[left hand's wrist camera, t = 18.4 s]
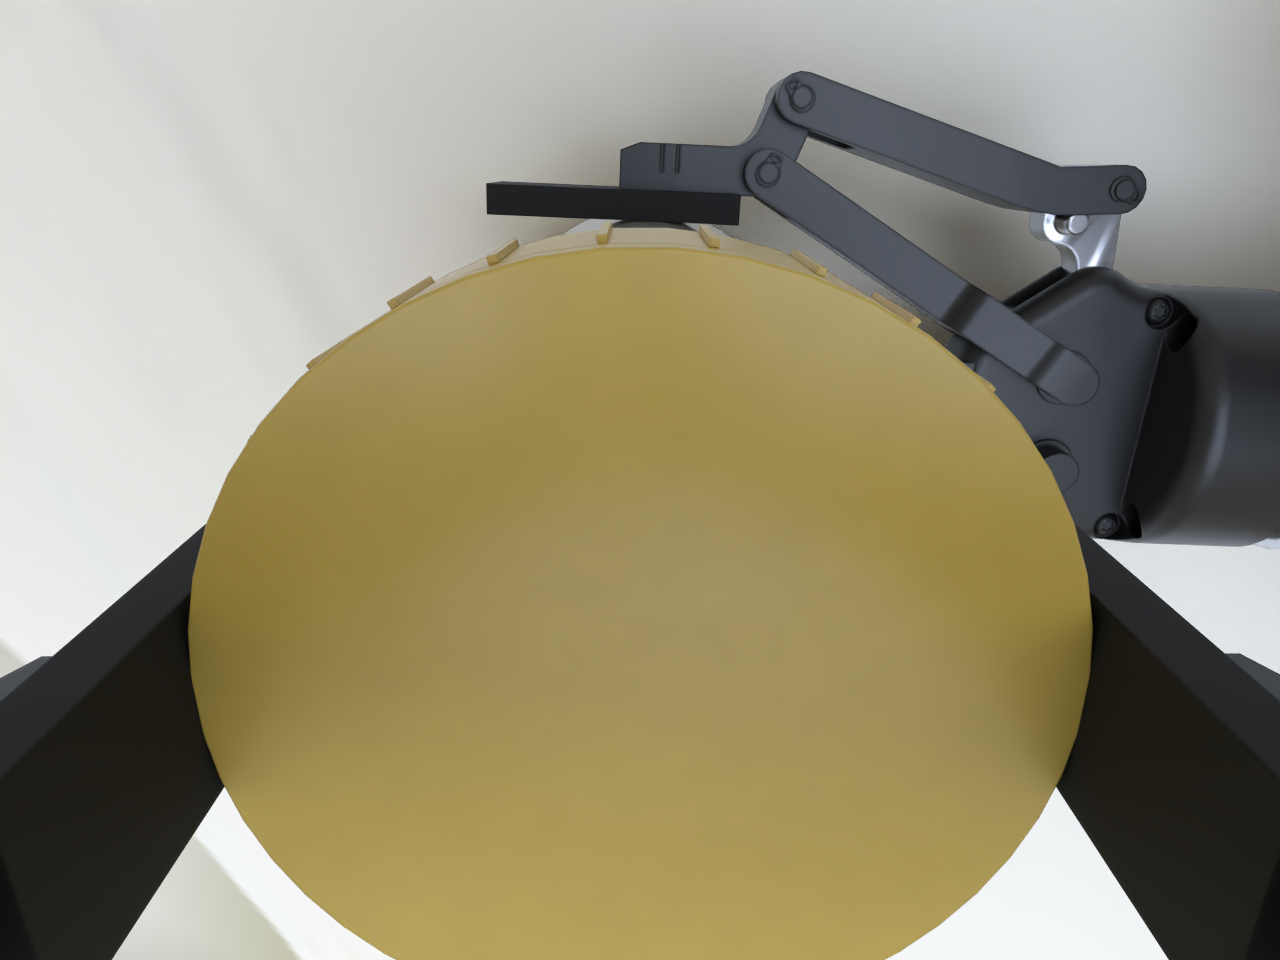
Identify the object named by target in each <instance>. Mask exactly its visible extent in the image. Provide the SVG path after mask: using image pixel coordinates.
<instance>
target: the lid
mask: <svg viewBox="0 0 1280 960" xmlns="http://www.w3.org/2000/svg"><path fill="white" fill-rule="evenodd" d="M387 303H388V305H389V306H390V308H391V310H390V311H388V312H387V313H385V314H384V315H382V316H380V317H379V318H377V319H376V320H374V321H373V322H371V323H370V324H368V325H366V326H365V327H363V328H362V329H360V330H358V331H356V332H355V333H353V334H352V335H350V336H348V337H347V338H345V339H344V340H342V341H341V342H339V343H338V344H336V345H334V346H333V347H331V348H330V349H328V350H327V351H325V352H324V353H322V354H320V355H319V356H317V357H316V358H314V359H313V360H311V361H310V362H309V363H308V364H307V365H306V367H307V368H308V369H310V370H309V371H308V372H306V373H305V374H304V375H303V376H302V377H300V378H299V379H298V380H297V382H296V383H295V384H294V385H293V386H292V387H291V388H290V390H289V391H288V392H287V393H286V394H285V395H284V396H283V398H282V399H281V400H280V401H279V402H278V403H277V404H276V406H275V407H274V408H273V409H272V410H271V411H270V412H269V414H268V415H267V416H266V417H265V418H264V419H263V420H262V422H261V423H260V424H259V425H258V427H257V428H256V430H255V432H254V433H253V435H251V436H250V438H249V440H248V441H247V444H246V446H245V447H244V449H243V451H242V452H241V454H240V455H239V457H238V459H237V460H236V462H235V463H234V465H233V466H232V468H231V470H230V471H229V473H228V475H227V477H226V479H225V482H224V484H223V486H222V489H221V491H220V493H219V496H218V498H217V500H216V503H215V505H214V507H213V510H212V512H211V514H210V517H209V519H208V521H207V524H206V526H205V530H204V534H203V538H202V542H201V546H200V550H199V554H198V558H197V562H196V566H195V570H194V574H193V578H192V589H191V601H190V612H189V623H188V642H189V657H190V672H191V678H192V683H193V688H194V692H195V697H196V702H197V706H198V711H199V715H200V720H201V724H202V729H203V733H204V737H205V740H206V743H207V745H208V748H209V751H210V753H211V756H212V758H213V761H214V764H215V766H216V769H217V772H218V774H219V777H220V779H221V781H222V782H223V784H224V786H225V788H226V790H227V792H228V793H229V795H230V797H231V799H232V801H233V802H234V804H235V806H236V808H237V810H238V812H239V813H240V815H241V817H242V819H243V821H244V822H245V823H246V825H247V826H248V827H249V829H250V830H251V831H252V833H253V834H254V836H255V837H256V838H257V840H258V841H259V842H260V844H261V845H262V846H263V848H264V849H265V851H266V852H267V853H268V855H269V856H270V857H271V859H272V860H273V861H274V862H275V863H276V864H277V865H278V866H279V867H280V868H281V869H282V871H283V872H284V873H285V874H286V875H287V876H288V877H289V878H290V879H291V880H292V881H293V882H294V883H295V884H296V885H297V886H298V887H299V889H300V890H301V891H302V892H303V893H304V894H305V895H306V896H307V897H309V898H310V899H311V900H312V901H313V902H315V903H316V904H317V905H318V906H319V907H321V908H322V909H323V910H324V911H325V912H326V913H328V914H329V915H330V916H331V917H332V918H334V919H335V920H336V921H337V922H338V923H340V924H341V925H342V926H343V927H345V928H346V929H348V930H349V931H351V932H352V933H354V934H355V935H357V936H358V937H360V938H361V939H363V940H364V941H366V942H367V943H369V944H370V945H372V946H373V947H375V948H376V949H378V950H379V951H381V952H382V953H384V954H386V955H388V956H390V957H392V958H394V959H396V960H885V959H887V958H889V957H891V956H893V955H895V954H896V953H898V952H900V951H902V950H903V949H905V948H906V947H907V946H909V945H910V944H912V943H913V942H915V941H916V940H918V939H919V938H921V937H922V936H924V935H925V934H927V933H928V932H930V931H931V930H933V929H934V928H936V927H937V926H939V925H940V924H941V923H942V922H944V921H945V920H946V919H947V918H948V917H950V916H951V915H952V914H953V913H954V912H955V911H957V910H958V909H959V908H960V907H961V906H963V905H964V904H965V903H966V902H967V901H968V900H970V899H971V898H972V897H973V896H974V895H976V894H977V893H978V892H979V891H980V890H981V888H982V887H983V886H984V885H985V884H986V883H987V882H988V881H989V880H990V879H991V878H992V877H993V876H994V874H995V873H996V872H997V871H998V870H999V869H1000V868H1001V867H1002V866H1003V865H1004V864H1005V863H1006V862H1007V861H1008V859H1009V858H1010V857H1011V856H1012V854H1013V853H1014V852H1015V850H1016V849H1017V848H1018V846H1019V845H1020V843H1021V842H1022V841H1023V839H1024V838H1025V837H1026V835H1027V834H1028V832H1029V831H1030V830H1031V828H1032V827H1033V825H1034V824H1035V823H1036V821H1037V820H1038V819H1039V817H1040V815H1041V813H1042V811H1043V809H1044V808H1045V806H1046V804H1047V802H1048V800H1049V798H1050V796H1051V795H1052V793H1053V791H1054V789H1055V787H1056V785H1057V784H1058V782H1059V780H1060V778H1061V776H1062V774H1063V771H1064V769H1065V766H1066V763H1067V761H1068V758H1069V755H1070V752H1071V750H1072V747H1073V744H1074V742H1075V739H1076V736H1077V732H1078V728H1079V723H1080V719H1081V714H1082V709H1083V705H1084V700H1085V696H1086V691H1087V686H1088V682H1089V677H1090V670H1091V653H1092V636H1093V624H1092V614H1091V603H1090V593H1089V583H1088V574H1087V570H1086V566H1085V563H1084V559H1083V555H1082V551H1081V547H1080V543H1079V540H1078V536H1077V532H1076V528H1075V524H1074V521H1073V519H1072V517H1071V514H1070V512H1069V510H1068V508H1067V505H1066V503H1065V501H1064V499H1063V496H1062V494H1061V492H1060V489H1059V487H1058V485H1057V483H1056V480H1055V478H1054V476H1053V473H1052V471H1051V470H1050V468H1049V467H1048V465H1047V463H1046V462H1045V460H1044V459H1043V457H1042V456H1041V454H1040V453H1039V451H1038V449H1037V448H1036V446H1035V445H1034V443H1033V442H1032V440H1031V439H1030V437H1029V435H1028V434H1027V432H1026V431H1025V429H1024V428H1023V426H1022V425H1021V423H1020V422H1019V420H1018V419H1017V418H1016V417H1015V416H1014V415H1013V414H1012V413H1011V411H1010V410H1009V409H1008V408H1007V407H1006V406H1005V405H1004V404H1003V402H1002V401H1001V400H1000V399H999V398H998V397H997V396H996V395H995V393H994V391H995V390H996V388H995V387H994V386H993V385H992V384H991V383H990V382H988V381H987V380H985V379H984V378H982V377H981V376H979V375H978V374H976V373H975V372H974V371H972V370H971V369H970V368H969V367H968V366H966V365H965V364H964V363H963V362H961V361H960V360H959V359H958V358H957V357H955V356H954V355H953V354H952V353H951V352H949V351H948V350H947V349H946V348H945V347H943V346H942V345H941V344H940V343H939V342H937V341H936V340H935V339H934V338H933V337H931V336H930V335H929V334H927V333H926V332H924V331H922V330H921V329H919V328H918V326H919V324H920V323H921V322H922V321H921V320H920V319H919V318H917V317H916V316H914V315H913V314H911V313H909V312H908V311H906V310H905V309H903V308H901V307H900V306H898V305H896V304H895V303H893V302H891V301H890V300H888V299H886V298H885V297H883V296H881V295H880V294H878V293H876V292H874V293H873V295H872V296H871V297H869V296H868V295H866V294H864V293H863V292H861V291H859V290H858V289H856V288H854V287H853V286H851V285H850V284H848V283H846V282H845V281H843V280H841V279H840V278H838V277H836V276H835V275H833V274H832V273H830V272H828V269H827V268H825V267H824V266H822V265H821V264H819V263H817V262H816V261H814V260H813V259H811V258H810V257H808V256H806V255H805V254H803V253H802V252H800V251H798V250H795V249H792V251H791V254H790V255H788V254H786V253H784V252H781V251H779V250H776V249H772V248H768V247H765V246H761V245H757V244H754V243H750V242H747V241H743V240H739V239H736V238H732V237H728V236H725V235H718V234H715V233H714V232H713V231H712V230H711V228H710V227H709V226H706V225H700V227H699V232H695V231H688V230H680V229H673V228H612V222H611V221H610V222H603V224H602V226H601V228H600V229H599V230H592V231H585V232H578V233H571V234H564V235H557V236H552V237H548V238H544V239H541V240H537V241H534V242H530V243H527V244H523V245H520V246H519V244H518V241H517V239H514V240H511V241H509V242H507V243H506V244H504V245H503V246H501V247H500V248H499V249H497V250H496V251H494V252H493V253H491V254H490V255H489V256H487V257H485V258H483V259H481V260H478V261H476V262H474V263H472V264H469V265H467V266H465V267H463V268H460V269H458V270H456V271H453V272H451V273H449V274H447V275H446V276H444V277H442V278H441V279H439V280H438V281H436V282H434V280H433V279H432V277H431V276H429V277H428V278H426V279H424V280H423V281H421V282H419V283H418V284H416V285H414V286H413V287H411V288H410V289H408V290H406V291H405V292H403V293H401V294H400V295H398V296H396V297H395V298H393V299H391V300H390V301H388V302H387Z"/></svg>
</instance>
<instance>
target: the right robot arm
mask: <svg viewBox="0 0 1280 960" xmlns="http://www.w3.org/2000/svg"><path fill="white" fill-rule="evenodd" d="M807 137H809V138H811V139H814V140H817V141H820V142H822V143H825V144H828V145H830V146H833V147H836V148H839V149H841V150H844V151H847V152H849V153H852V154H855V155H858V156H860V157H863V158H866V159H868V160H871V161H874V162H876V163H879V164H882V165H885V166H887V167H890V168H893V169H895V170H898V171H901V172H904V173H906V174H909V175H912V176H914V177H917V178H920V179H923V180H925V181H928V182H931V183H933V184H936V185H939V186H941V187H944V188H947V189H950V190H952V191H955V192H958V193H960V194H963V195H966V196H969V197H971V198H974V199H977V200H979V201H982V202H985V203H988V204H991V205H995V206H998V207H1001V208H1007V209H1013V210H1020V211H1028V212H1030V217H1029V227H1030V230H1031V233H1032V234H1033V236H1034V237H1035V238H1037V239H1038V240H1040V241H1044V242H1048V243H1051V244H1053V245H1054V246H1056V247H1057V249H1058V250H1059V251H1060V254H1061V257H1062V266H1060V267H1057V268H1055V269H1054V270H1052V271H1050V272H1049V273H1047V274H1045V275H1044V276H1042V277H1040V278H1039V279H1037V280H1036V281H1034V282H1032V283H1031V284H1029V285H1027V286H1026V287H1024V288H1022V289H1021V290H1019V291H1018V292H1016V293H1014V294H1013V295H1011V296H1009V297H1008V298H1006V299H1004V300H1003V301H1001V302H999V301H998V300H996V299H995V298H993V297H992V296H990V295H989V294H987V293H986V292H984V291H982V290H981V289H979V288H977V287H975V286H973V285H972V284H970V283H969V282H967V281H966V280H964V279H963V278H961V277H960V276H959V275H957V274H956V273H954V272H953V271H951V270H950V269H949V268H947V267H946V266H944V265H943V264H941V263H940V262H939V261H937V260H936V259H934V258H933V257H931V256H930V255H929V254H927V253H926V252H924V251H923V250H921V249H920V248H919V247H917V246H916V245H914V244H913V243H911V242H910V241H909V240H907V239H906V238H904V237H903V236H901V235H900V234H899V233H897V232H896V231H894V230H893V229H891V228H890V227H889V226H887V225H886V224H884V223H883V222H881V221H880V220H879V219H877V218H876V217H874V216H873V215H871V214H870V213H869V212H867V211H866V210H864V209H863V208H861V207H860V206H859V205H857V204H856V203H854V202H853V201H851V200H850V199H849V198H847V197H846V196H844V195H843V194H841V193H840V192H839V191H837V190H836V189H834V188H833V187H831V186H830V185H829V184H827V183H826V182H824V181H823V180H821V179H820V178H819V177H817V176H816V175H814V174H813V173H812V172H810V171H809V170H807V169H806V168H804V167H803V166H802V165H800V164H799V163H797V162H796V160H797V158H798V155H799V153H800V151H801V149H802V147H803V144H804V142H805V140H806V138H807ZM486 188H487V214H494V215H516V216H539V217H562V218H584V219H607V220H629V221H652V222H674V223H697V224H719V225H739V212H740V199H741V196H752V197H754V198H755V199H757V200H758V201H760V202H761V203H763V204H764V205H765V206H767V207H768V208H770V209H771V210H773V211H774V212H776V213H777V214H779V215H780V216H782V217H783V218H784V219H786V220H787V221H789V222H790V223H792V224H793V225H795V226H796V227H798V228H799V229H801V230H802V231H803V232H805V233H806V234H808V235H809V236H811V237H812V238H814V239H815V240H817V241H818V242H820V243H821V244H823V245H824V246H825V247H827V248H828V249H830V250H831V251H833V252H834V253H836V254H837V255H839V256H840V257H842V258H843V259H844V260H846V261H847V262H849V263H850V264H852V265H853V266H855V267H856V268H858V269H859V270H861V271H862V272H863V273H865V274H866V275H868V276H869V277H871V278H872V279H874V280H875V281H877V282H878V283H880V284H881V285H882V286H884V287H885V288H887V289H888V290H890V291H891V292H893V293H894V294H896V295H897V296H899V297H900V298H902V299H903V300H904V301H906V302H907V303H909V304H910V305H912V306H913V307H915V308H916V309H917V310H918V311H920V312H921V313H922V314H924V315H925V316H927V317H928V318H930V319H931V320H933V321H934V322H936V323H937V324H938V325H940V326H941V327H943V328H944V329H946V330H947V331H949V332H950V333H952V334H953V335H952V337H951V338H950V339H949V341H948V343H947V344H946V347H945V348H946V349H947V350H948V351H949V352H951V353H952V354H953V355H954V356H955V357H957V358H958V359H959V360H960V361H961V362H963V363H964V364H965V365H966V366H968V367H969V368H970V369H971V370H972V371H974V372H975V373H976V374H978V375H979V376H981V377H982V378H984V379H985V380H987V381H988V382H990V383H991V384H992V385H993V386H994V387H995V388H996V390H995V391H994V393H995V395H996V396H997V397H998V398H999V399H1000V400H1001V401H1002V402H1003V404H1004V405H1005V406H1006V407H1007V408H1008V409H1009V410H1010V411H1011V413H1012V414H1013V415H1014V416H1015V417H1016V418H1017V419H1018V420H1019V422H1020V423H1021V425H1022V426H1023V428H1024V429H1025V431H1026V432H1027V434H1028V435H1029V437H1030V439H1031V440H1032V442H1033V443H1034V445H1035V446H1036V448H1037V449H1038V451H1039V453H1040V454H1041V456H1042V457H1043V459H1044V460H1045V462H1046V463H1047V465H1048V467H1049V468H1050V470H1051V471H1052V473H1053V476H1054V478H1055V480H1056V483H1057V485H1058V487H1059V489H1060V492H1061V494H1062V496H1063V499H1064V501H1065V503H1066V505H1067V508H1068V510H1069V512H1070V514H1071V517H1072V519H1073V521H1074V524H1075V525H1076V526H1078V527H1079V528H1080V529H1081V530H1082V531H1083V532H1085V533H1086V534H1087V535H1088V536H1089V537H1090V538H1091V539H1092V538H1097V539H1107V540H1114V541H1123V542H1133V543H1156V544H1181V545H1207V546H1246V545H1252V544H1254V545H1258V546H1261V547H1265V548H1268V549H1280V293H1278V292H1275V291H1271V290H1263V289H1245V288H1221V287H1198V286H1175V285H1151V284H1136V283H1133V282H1132V281H1130V280H1128V279H1127V278H1125V277H1124V276H1123V275H1121V274H1120V273H1118V272H1117V271H1115V270H1113V262H1114V256H1115V250H1116V243H1117V237H1118V231H1119V225H1120V218H1121V214H1123V213H1127V212H1129V211H1131V210H1133V209H1134V208H1136V207H1137V206H1138V205H1139V203H1140V202H1141V201H1142V199H1143V198H1144V195H1145V192H1146V178H1145V176H1144V174H1143V172H1142V171H1141V170H1139V169H1138V168H1137V167H1135V166H1129V165H1059V166H1057V165H1055V164H1052V163H1049V162H1047V161H1044V160H1041V159H1039V158H1036V157H1034V156H1031V155H1028V154H1026V153H1023V152H1020V151H1018V150H1015V149H1012V148H1010V147H1007V146H1004V145H1002V144H999V143H996V142H994V141H991V140H989V139H986V138H983V137H981V136H978V135H975V134H973V133H970V132H967V131H965V130H962V129H959V128H957V127H954V126H951V125H949V124H946V123H944V122H941V121H938V120H936V119H933V118H930V117H928V116H925V115H922V114H920V113H917V112H914V111H912V110H909V109H906V108H904V107H901V106H899V105H896V104H893V103H891V102H888V101H885V100H883V99H880V98H877V97H875V96H872V95H869V94H867V93H864V92H861V91H859V90H856V89H854V88H851V87H848V86H846V85H843V84H840V83H838V82H835V81H832V80H830V79H827V78H824V77H822V76H819V75H816V74H814V73H811V72H805V71H800V72H796V73H793V74H791V75H789V76H787V77H786V78H784V79H782V80H781V81H779V82H778V83H776V84H775V85H774V86H773V87H771V88H770V90H769V92H768V94H767V95H766V99H765V104H764V106H763V109H762V111H761V114H760V116H759V118H758V121H757V123H756V125H755V128H754V129H753V131H752V133H751V135H750V136H749V137H748V138H747V139H746V140H745V141H743V142H742V143H740V144H739V145H736V146H711V145H689V144H667V143H645V142H640V143H637V144H634V145H632V146H629V147H626V148H624V149H621V153H620V184H619V187H616V186H593V185H571V184H549V183H526V182H504V181H502V182H494V183H486Z"/></svg>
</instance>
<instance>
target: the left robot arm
mask: <svg viewBox="0 0 1280 960" xmlns="http://www.w3.org/2000/svg"><path fill="white" fill-rule="evenodd" d="M206 524H207V523H206ZM206 524H205V525H204V526H203V527H202V528H201V529H200V530H198V531H197V532H196V533H195V534H194V535H193V536H191V537H190V538H189V539H188V540H187V541H186V542H184V543H183V544H182V545H181V546H180V547H179V548H178V549H176V550H175V551H174V552H173V553H172V554H171V555H169V556H168V557H167V558H166V559H165V560H164V561H162V562H161V563H160V564H159V565H158V566H157V567H156V568H154V569H153V570H152V571H151V572H150V573H149V574H147V575H146V576H145V577H144V578H143V579H142V580H140V581H139V582H138V583H137V584H136V585H135V586H134V587H132V588H131V589H130V590H129V591H128V592H127V593H125V594H124V595H123V596H122V597H121V598H120V599H118V600H117V601H116V602H115V603H114V604H113V605H112V606H110V607H109V608H108V609H107V610H106V611H105V612H103V613H102V614H101V615H100V616H99V617H98V618H96V619H95V620H94V621H93V622H92V623H91V624H90V625H88V626H87V627H86V628H85V629H84V630H83V631H81V632H80V633H79V634H78V635H77V636H76V637H75V638H73V639H72V640H71V641H70V642H69V643H68V644H66V645H65V646H64V647H63V648H62V649H61V650H59V651H58V652H57V653H56V654H55V655H54V656H42V657H40V658H38V659H36V660H34V661H32V662H30V663H28V664H26V665H24V666H23V667H21V668H19V669H17V670H15V671H13V672H11V673H9V674H7V675H5V676H4V677H2V678H0V960H112V958H113V957H114V955H115V954H116V952H117V951H118V949H119V948H120V946H121V945H122V943H123V942H124V940H125V938H126V937H127V935H128V934H129V932H130V931H131V929H132V928H133V926H134V925H135V923H136V922H137V920H138V919H139V917H140V915H141V914H142V912H143V911H144V909H145V908H146V906H147V905H148V903H149V902H150V900H151V899H152V897H153V895H154V894H155V892H156V891H157V889H158V888H159V886H160V885H161V883H162V882H163V880H164V879H165V877H166V875H167V874H168V873H169V871H170V869H171V868H172V866H173V865H174V863H175V862H176V860H177V859H178V857H179V856H180V854H181V853H182V851H183V850H184V848H185V846H186V845H187V843H188V842H189V840H190V839H191V837H192V836H193V834H194V833H195V831H196V830H197V828H198V826H199V825H200V823H201V822H202V820H203V819H204V817H205V816H206V814H207V813H208V811H209V810H210V808H211V807H212V805H213V803H214V802H215V800H216V799H217V797H218V796H219V794H220V793H221V791H222V790H223V788H224V787H225V786H224V784H223V782H222V781H221V779H220V777H219V774H218V772H217V769H216V766H215V764H214V761H213V758H212V756H211V753H210V751H209V748H208V745H207V743H206V740H205V737H204V733H203V729H202V724H201V720H200V715H199V711H198V706H197V702H196V697H195V692H194V688H193V683H192V678H191V672H190V657H189V642H188V623H189V612H190V601H191V589H192V578H193V574H194V570H195V566H196V562H197V558H198V554H199V550H200V546H201V542H202V538H203V534H204V530H205V526H206ZM1075 528H1076V532H1077V536H1078V540H1079V543H1080V547H1081V551H1082V555H1083V559H1084V563H1085V566H1086V570H1087V574H1088V583H1089V593H1090V603H1091V614H1092V624H1093V636H1092V653H1091V670H1090V677H1089V682H1088V686H1087V691H1086V696H1085V700H1084V705H1083V709H1082V714H1081V719H1080V723H1079V728H1078V732H1077V736H1076V739H1075V742H1074V744H1073V747H1072V750H1071V752H1070V755H1069V758H1068V761H1067V763H1066V766H1065V769H1064V771H1063V774H1062V776H1061V778H1060V780H1059V782H1058V784H1057V785H1056V787H1057V789H1058V790H1059V792H1060V793H1061V795H1062V796H1063V798H1064V800H1065V801H1066V803H1067V804H1068V806H1069V807H1070V809H1071V810H1072V812H1073V813H1074V815H1075V816H1076V818H1077V819H1078V821H1079V823H1080V824H1081V826H1082V827H1083V829H1084V830H1085V832H1086V833H1087V835H1088V836H1089V838H1090V839H1091V841H1092V843H1093V844H1094V846H1095V847H1096V849H1097V850H1098V852H1099V853H1100V855H1101V856H1102V858H1103V859H1104V861H1105V862H1106V864H1107V866H1108V867H1109V869H1110V870H1111V872H1112V873H1113V875H1114V876H1115V878H1116V879H1117V881H1118V882H1119V884H1120V885H1121V887H1122V889H1123V890H1124V892H1125V893H1126V895H1127V896H1128V898H1129V899H1130V901H1131V902H1132V904H1133V905H1134V907H1135V908H1136V910H1137V912H1138V913H1139V915H1140V916H1141V918H1142V919H1143V921H1144V922H1145V924H1146V925H1147V927H1148V928H1149V930H1150V932H1151V933H1152V935H1153V936H1154V938H1155V939H1156V941H1157V942H1158V944H1159V945H1160V947H1161V948H1162V950H1163V951H1164V953H1165V955H1166V956H1167V958H1168V959H1169V960H1280V674H1278V673H1276V672H1274V671H1272V670H1270V669H1268V668H1267V667H1265V666H1263V665H1261V664H1259V663H1257V662H1255V661H1253V660H1251V659H1249V658H1247V657H1245V656H1243V655H1242V654H1225V653H1223V652H1222V651H1221V650H1220V649H1219V648H1218V647H1217V646H1215V645H1214V644H1213V643H1212V642H1211V641H1210V640H1208V639H1207V638H1206V637H1205V636H1204V635H1203V634H1201V633H1200V632H1199V631H1198V630H1197V629H1196V628H1195V627H1193V626H1192V625H1191V624H1190V623H1189V622H1188V621H1186V620H1185V619H1184V618H1183V617H1182V616H1181V615H1179V614H1178V613H1177V612H1176V611H1175V610H1174V609H1173V608H1171V607H1170V606H1169V605H1168V604H1167V603H1166V602H1164V601H1163V600H1162V599H1161V598H1160V597H1159V596H1157V595H1156V594H1155V593H1154V592H1153V591H1152V590H1151V589H1149V588H1148V587H1147V586H1146V585H1145V584H1144V583H1142V582H1141V581H1140V580H1139V579H1138V578H1137V577H1135V576H1134V575H1133V574H1132V573H1131V572H1130V571H1129V570H1127V569H1126V568H1125V567H1124V566H1123V565H1122V564H1120V563H1119V562H1118V561H1117V560H1116V559H1115V558H1113V557H1112V556H1111V555H1110V554H1109V553H1108V552H1107V551H1105V550H1104V549H1103V548H1102V547H1101V546H1100V545H1098V544H1097V543H1096V542H1095V541H1094V540H1093V539H1091V538H1090V537H1089V536H1088V535H1087V534H1086V533H1085V532H1083V531H1082V530H1081V529H1080V528H1079V527H1078V526H1076V525H1075Z"/></svg>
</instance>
